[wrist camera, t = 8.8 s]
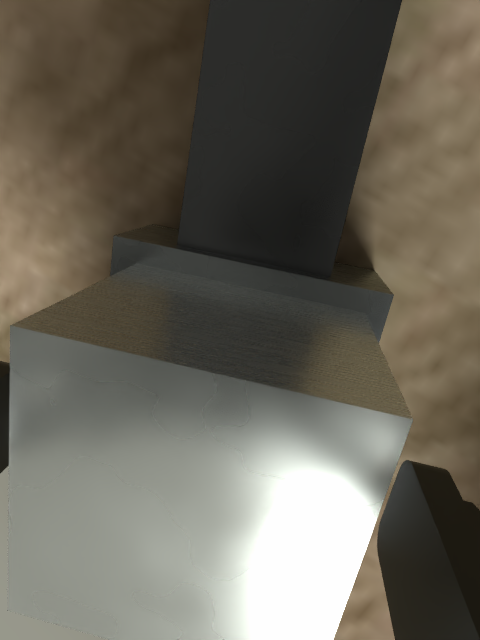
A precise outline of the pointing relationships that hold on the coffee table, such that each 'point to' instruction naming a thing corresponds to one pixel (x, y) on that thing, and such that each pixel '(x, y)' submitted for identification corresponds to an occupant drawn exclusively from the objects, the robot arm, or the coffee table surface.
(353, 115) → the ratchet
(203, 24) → the coffee table surface
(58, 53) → the coffee table surface
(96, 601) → the brushed grey cube
